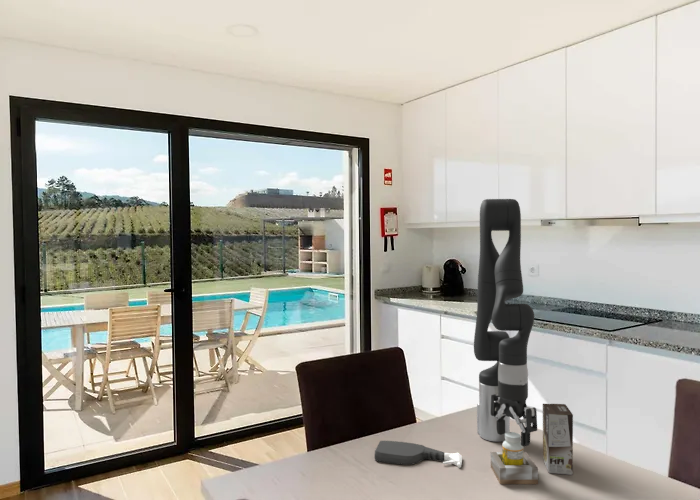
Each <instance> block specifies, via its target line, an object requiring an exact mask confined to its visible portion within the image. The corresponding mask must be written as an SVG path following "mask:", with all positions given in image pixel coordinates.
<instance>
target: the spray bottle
mask: <svg viewBox="0 0 700 500" xmlns="http://www.w3.org/2000/svg"><path fill="white" fill-rule="evenodd" d="M374 460H375V461H377V462H379V463H386V464H392V465H394V464H395V465H404V466H406V465H407V466H409V465H415V464H418V463H420V462H422V461H423V460H429V461H430V460H431V461H439V462H442V465H449V464H451V465H452V464H453V465H455V466H456V467H457V468H462V466H463V465H462V463H463V455H462V454H460V453H459V452H455V453H453V452H452V453H451V452H450V453H449V452H444V451H443V450H442V451H440V450H438V449H435V448H430V447H427V446H425V445H423V444H419V443H418V444H417V443H413V442H405V441H394V440H379V442H378V444H377V447H376V448H375V450H374Z"/></svg>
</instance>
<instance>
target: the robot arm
mask: <svg viewBox="0 0 700 500" xmlns="http://www.w3.org/2000/svg"><path fill="white" fill-rule="evenodd" d="M521 221H522V215H521V207H520V203H519V202H518V201H517V199H514V198H487V199H485V198H484V200H482V202H481V204H480V206H479V260H478V261H479V262H478V274H477V303H476V305H477V306H476V307H477V310H476V320H475V329H474V339H473V353H474V354H473V355H474V357H475V359H477V360H478V361H482V362H496V363H494V365H492V366H490V367H488V368H486V369H483V370H481V371H480V372H479V374H478V391H479V392H478V394H479V395H478V399H479V400H478V403H477V404H476V414H477V415H476V419H477V420H476V422H477V423H476V424H477V426H476V427H477V428H476V431H477V434H478V435H479V437H480V438H482V439H484V440H486V441H489V442H494V443H495V442H496V443H497V442H504V441H505V433H507V432H511V431H510V430H511V426H510V424H511V421H510V420H511V419H512V420H514V421H515V423H516V425H518V426H519V428H520V430H521V431H520V435H521V441H520V442H521V445H522V446H523V448H524V447H528V446H530V444H531V433H533V432H537V431H538V417H537V416H538V415H537V414H538V413H537V408H536V407H529V406H527V399H528V397H529V371H528V370H529V369H528V343H529V339H530V336H531V333H532V329H533V326H534V323H535V322H534V321H535V313H534V310H533V308H532V307H531V305H529V304H527V303H506V301H509V300H513V299H517V298H519V297H521V296H522V295H523V294H524V283H523V275H522V266H521V265H522V264H521V247H522V246H521V245H522V242H521V241H522V239H521V238H522V224H521V223H522V222H521ZM492 231H494V232H495V231H496V232H503V231H506V232H507V231H508V239H507V241H506V244H505V245H504V248H503V249H502V251H501V252H500V253H499V252H498V250H497V248H496V245H495V243H494V241H493V238H492V236H493V235H492ZM491 323H492V326H494V328H495V329H496V330H494V331H493V330H488V329H489V327H490V325H491ZM507 331H508V332H509V331H512V332H517V333H516V335H514V336H513V337H510V334H509V333H508V332H507ZM510 418H511V419H510ZM521 418H522V419H521Z"/></svg>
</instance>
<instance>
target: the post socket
mask: <svg viewBox="0 0 700 500" xmlns="http://www.w3.org/2000/svg"><path fill="white" fill-rule="evenodd" d="M502 458H503V457H502V451H490V468H491V470H492V472H493V474H494V476H495V478H496V479H497V481H498V483H499V484H500V485H538V484H539V468H538V466H537V465H536V464H535V462H534V461H533V459H532V458H531V457H530V455H529V454H528V452H527V451H523V459H524V465H504V464H503V462H502Z"/></svg>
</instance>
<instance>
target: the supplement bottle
mask: <svg viewBox="0 0 700 500" xmlns="http://www.w3.org/2000/svg"><path fill="white" fill-rule="evenodd" d="M501 445H502V446H501V447H502V451H501V452H502V457H503V458H502V462H503V464H504V465H524V459H523V452H524V446H522V445H521V433H518V432H515V431H514V432H513V431H510V432H507V433H505V441H502V444H501Z"/></svg>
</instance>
